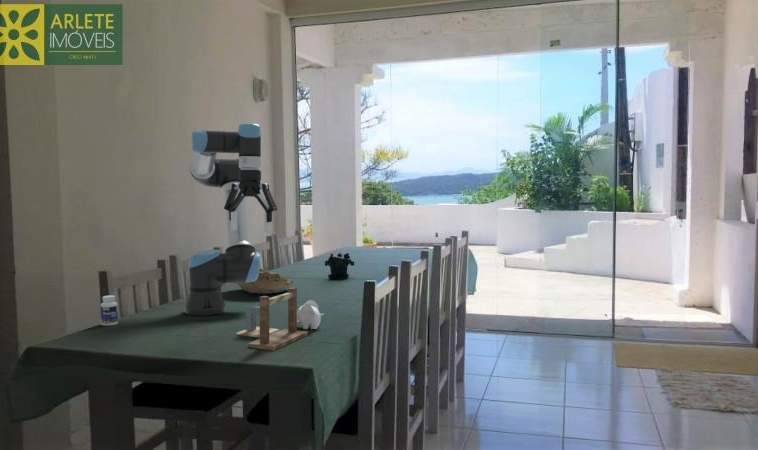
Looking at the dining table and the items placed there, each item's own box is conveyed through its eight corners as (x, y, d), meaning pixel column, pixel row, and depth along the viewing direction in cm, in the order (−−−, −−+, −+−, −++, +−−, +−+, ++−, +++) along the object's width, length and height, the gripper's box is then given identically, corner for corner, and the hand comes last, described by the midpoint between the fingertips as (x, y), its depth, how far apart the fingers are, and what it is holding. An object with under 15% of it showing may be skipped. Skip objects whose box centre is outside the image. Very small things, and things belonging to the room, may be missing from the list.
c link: (246, 330, 200) (246, 306, 199) (251, 328, 202) (251, 305, 202) (264, 333, 197) (264, 308, 196) (269, 331, 200) (269, 307, 199)
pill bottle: (101, 326, 207) (100, 298, 206) (100, 323, 212) (99, 295, 211) (118, 324, 210) (117, 297, 209) (117, 321, 214) (116, 294, 214)
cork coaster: (236, 334, 197) (236, 332, 197) (254, 328, 206) (254, 326, 206) (262, 337, 193) (262, 336, 193) (279, 330, 202) (279, 329, 202)
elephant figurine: (291, 324, 212) (291, 299, 212) (326, 324, 212) (326, 299, 211) (287, 330, 203) (286, 304, 202) (322, 331, 202) (322, 305, 202)
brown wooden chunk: (307, 286, 278) (303, 255, 275) (267, 307, 256) (262, 273, 253) (259, 282, 294) (254, 253, 291) (218, 301, 272) (212, 269, 269)
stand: (273, 350, 178) (273, 299, 177) (248, 347, 182) (247, 296, 181) (307, 335, 197) (307, 288, 196) (284, 332, 200) (283, 286, 199)
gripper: (213, 169, 209) (214, 230, 211) (274, 168, 199) (275, 233, 201) (226, 169, 216) (227, 229, 218) (286, 169, 206) (287, 231, 208)
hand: (250, 231), depth 209 cm, fingers open, 13 cm apart
